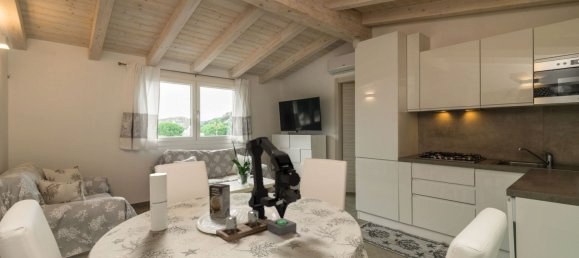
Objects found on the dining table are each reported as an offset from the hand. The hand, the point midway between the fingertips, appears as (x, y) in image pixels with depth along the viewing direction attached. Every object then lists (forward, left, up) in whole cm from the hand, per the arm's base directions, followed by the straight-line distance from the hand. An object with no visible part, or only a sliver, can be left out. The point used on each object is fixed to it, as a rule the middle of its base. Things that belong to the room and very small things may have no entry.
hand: (281, 218), depth 117 cm
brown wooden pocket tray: (-11, -13, -6) cm, 18 cm away
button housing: (0, 0, -6) cm, 6 cm away
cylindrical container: (-43, -38, -6) cm, 58 cm away
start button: (0, 0, -4) cm, 4 cm away
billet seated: (-11, -18, -5) cm, 22 cm away
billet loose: (-11, -7, -5) cm, 14 cm away
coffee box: (-40, -9, -6) cm, 42 cm away
